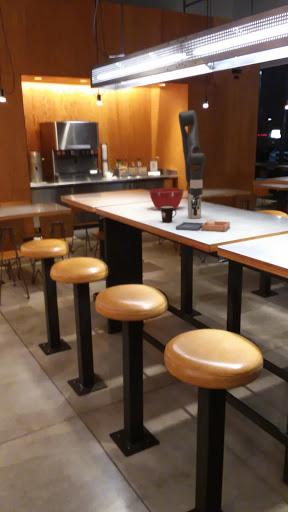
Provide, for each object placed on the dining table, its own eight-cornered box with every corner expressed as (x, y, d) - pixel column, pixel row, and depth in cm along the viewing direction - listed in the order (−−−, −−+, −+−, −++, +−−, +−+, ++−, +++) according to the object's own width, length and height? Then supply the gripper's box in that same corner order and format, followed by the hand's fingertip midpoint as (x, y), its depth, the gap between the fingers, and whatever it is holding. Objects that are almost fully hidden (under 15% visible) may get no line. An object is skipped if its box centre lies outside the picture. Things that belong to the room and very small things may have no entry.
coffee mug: (158, 221, 287) (158, 206, 285) (170, 220, 290) (170, 205, 288) (165, 224, 277) (165, 209, 274) (177, 223, 280) (177, 208, 277)
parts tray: (183, 224, 273) (183, 222, 273) (204, 225, 268) (204, 223, 267) (175, 229, 259) (175, 226, 259) (197, 230, 254) (197, 227, 253)
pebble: (193, 215, 263) (193, 208, 262) (200, 216, 262) (200, 208, 261) (191, 217, 260) (191, 209, 258) (198, 217, 258) (198, 210, 257)
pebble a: (208, 226, 261) (208, 219, 260) (215, 227, 259) (215, 219, 258) (206, 228, 257) (206, 220, 256) (213, 228, 255) (213, 221, 254)
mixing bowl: (143, 208, 347) (142, 189, 343) (173, 205, 359) (173, 187, 355) (158, 213, 322) (158, 192, 318) (190, 209, 334) (190, 190, 330)
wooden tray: (207, 226, 266) (207, 220, 265) (229, 227, 261) (229, 221, 260) (201, 230, 254) (201, 224, 253) (224, 231, 248) (224, 226, 248)
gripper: (193, 185, 263) (193, 212, 268) (187, 188, 251) (187, 216, 255) (205, 185, 261) (205, 213, 265) (199, 188, 248) (199, 217, 253)
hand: (196, 214), depth 260 cm, fingers closed on pebble, 4 cm apart
